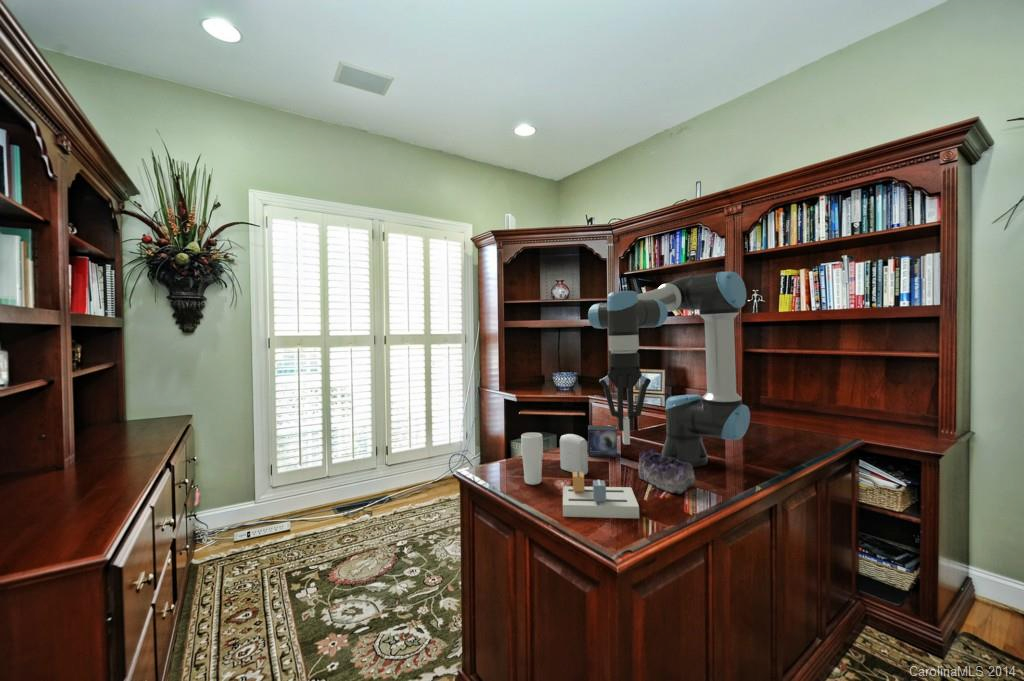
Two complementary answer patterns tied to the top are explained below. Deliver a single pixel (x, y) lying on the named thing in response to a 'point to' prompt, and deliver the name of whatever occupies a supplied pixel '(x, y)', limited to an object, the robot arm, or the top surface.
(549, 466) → the top surface
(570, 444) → the white slotted device
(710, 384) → the robot arm
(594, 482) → the slate fader
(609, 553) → the top surface
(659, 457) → the geode
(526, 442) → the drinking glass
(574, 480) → the orange fader
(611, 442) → the small box
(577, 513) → the fader console
